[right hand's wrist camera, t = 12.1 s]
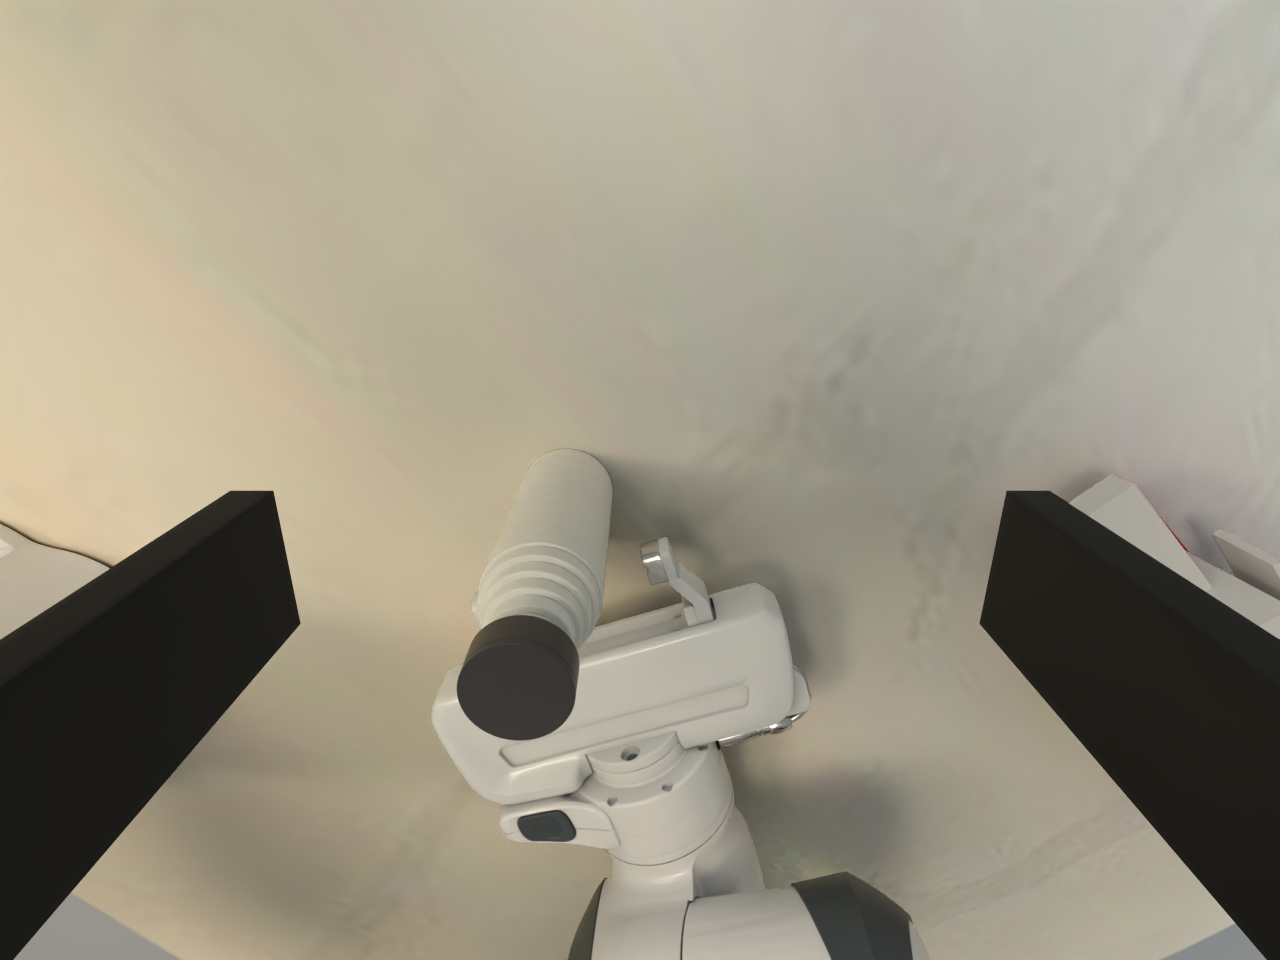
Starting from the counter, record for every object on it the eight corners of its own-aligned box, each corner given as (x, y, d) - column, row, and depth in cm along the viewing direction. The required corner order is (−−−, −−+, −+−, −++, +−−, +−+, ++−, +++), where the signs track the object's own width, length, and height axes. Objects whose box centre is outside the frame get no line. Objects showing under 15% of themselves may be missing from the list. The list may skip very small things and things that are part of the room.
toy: (1255, 473, 30) (1567, 914, 34) (1090, 420, 43) (1332, 745, 47) (1014, 626, 33) (1329, 1016, 37) (927, 534, 46) (1168, 831, 50)
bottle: (509, 509, 41) (418, 714, 24) (545, 433, 39) (475, 596, 22) (589, 544, 42) (556, 767, 25) (627, 472, 40) (620, 658, 23)
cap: (451, 682, 25) (438, 715, 24) (494, 597, 24) (483, 625, 22) (552, 722, 26) (546, 756, 24) (598, 641, 25) (595, 671, 23)
